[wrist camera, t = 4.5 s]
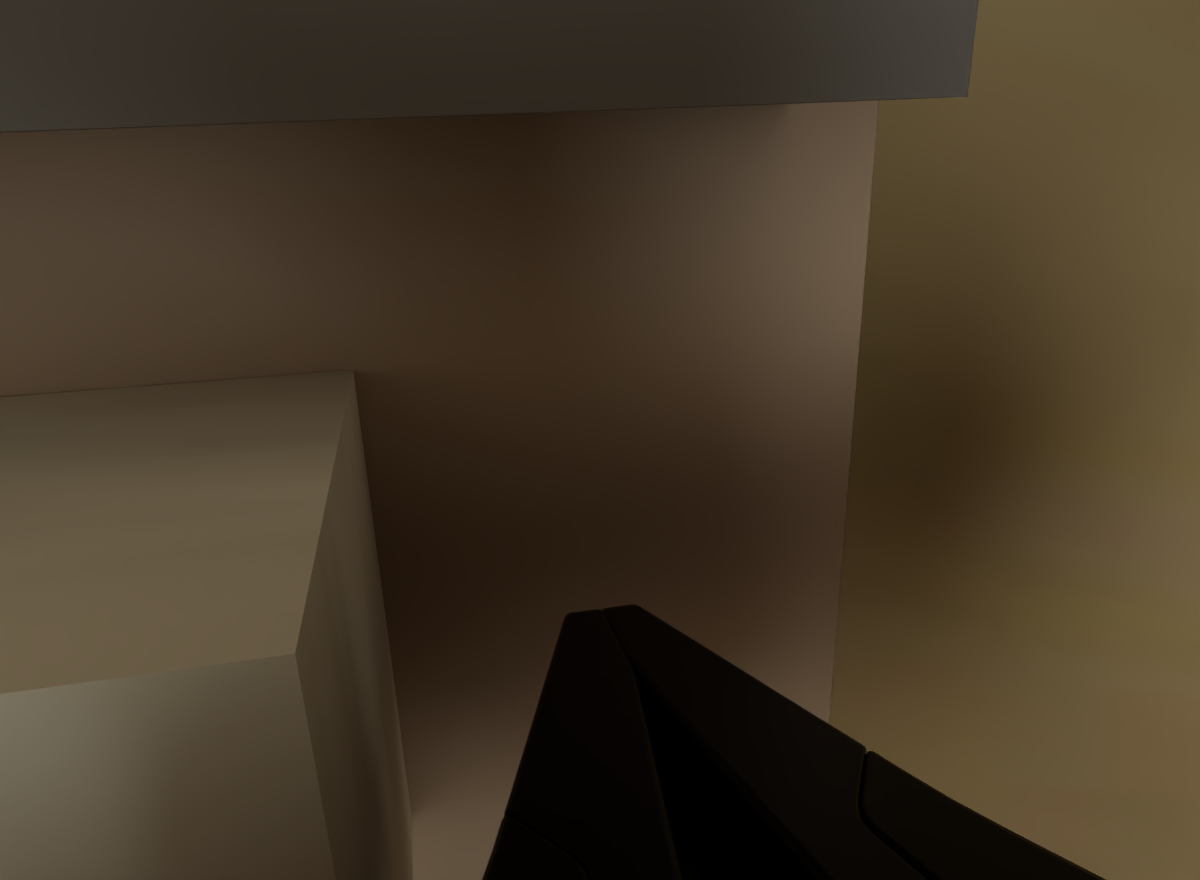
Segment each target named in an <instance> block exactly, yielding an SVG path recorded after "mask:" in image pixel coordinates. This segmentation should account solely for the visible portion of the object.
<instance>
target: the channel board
mask: <svg viewBox="0 0 1200 880" xmlns="http://www.w3.org/2000/svg"><path fill="white" fill-rule="evenodd" d="M977 9H978V0H0V397H8V396H21V395H34V394H47V393H60V392H73V391H86V390H99V389H112V388H125V387H138V386H152V385H165V384H178V383H191V382H204V381H217V380H230V379H243V378H256V377H269V376H282V375H295V374H308V373H321V372H335V371H348V370H353V372H354V380H355V388H356V395H357V403H358V410H359V418H360V426H361V433H362V441H363V449H364V456H365V464H366V471H367V479H368V487H369V494H370V502H371V509H372V517H373V525H374V532H375V540H376V547H377V555H378V563H379V570H380V578H381V586H382V593H383V601H384V608H385V616H386V624H387V631H388V639H389V646H390V654H391V662H392V669H393V677H394V685H395V692H396V700H397V707H398V715H399V723H400V730H401V738H402V745H403V753H404V761H405V768H406V776H407V784H408V791H409V799H410V806H411V814H412V855H413V880H482V878H483V875H484V872H485V869H486V867H487V864H488V861H489V858H490V855H491V853H492V850H493V847H494V843H495V840H496V837H497V834H498V830H499V827H500V824H501V821H502V819H503V818H504V813H505V809H506V806H507V803H508V799H509V796H510V793H511V790H512V786H513V783H514V780H515V777H516V773H517V770H518V767H519V764H520V760H521V757H522V754H523V751H524V747H525V744H526V741H527V738H528V734H529V731H530V728H531V725H532V721H533V718H534V715H535V711H536V708H537V705H538V702H539V698H540V695H541V692H542V689H543V685H544V682H545V679H546V676H547V672H548V669H549V666H550V663H551V659H552V656H553V653H554V650H555V646H556V643H557V640H558V637H559V633H560V630H561V627H562V624H563V620H564V618H565V616H566V615H567V614H568V613H571V612H579V611H586V610H594V609H600V610H602V609H604V608H608V607H616V606H623V605H630V604H635V605H638V606H640V607H642V608H644V609H645V610H647V611H648V612H650V613H652V614H653V615H655V616H656V617H658V618H660V619H661V620H663V621H664V622H666V623H668V624H669V625H671V626H672V627H674V628H676V629H677V630H679V631H680V632H682V633H684V634H685V635H687V636H688V637H690V638H692V639H693V640H695V641H696V642H698V643H700V644H701V645H703V646H705V647H706V648H708V649H709V650H711V651H713V652H714V653H716V654H717V655H719V656H721V657H722V658H724V659H725V660H727V661H729V662H730V663H732V664H733V665H735V666H737V667H738V668H740V669H741V670H743V671H745V672H746V673H748V674H749V675H751V676H753V677H754V678H756V679H757V680H759V681H761V682H762V683H764V684H765V685H767V686H769V687H770V688H772V689H774V690H775V691H777V692H778V693H780V694H782V695H783V696H785V697H786V698H788V699H790V700H791V701H793V702H794V703H796V704H798V705H799V706H801V707H802V708H804V709H806V710H807V711H809V712H810V713H812V714H814V715H815V716H817V717H818V718H820V719H822V720H823V721H825V722H826V723H828V724H829V720H830V707H831V695H832V682H833V669H834V657H835V644H836V632H837V619H838V607H839V594H840V582H841V569H842V556H843V544H844V531H845V519H846V506H847V494H848V481H849V469H850V456H851V443H852V431H853V418H854V406H855V393H856V381H857V368H858V356H859V343H860V330H861V318H862V305H863V293H864V280H865V268H866V255H867V243H868V230H869V217H870V205H871V192H872V180H873V167H874V155H875V142H876V130H877V117H878V104H879V100H896V99H920V98H944V97H967V96H968V87H969V78H970V70H971V61H972V52H973V43H974V35H975V26H976V17H977Z"/></svg>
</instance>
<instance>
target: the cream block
mask: <svg viewBox="0 0 1200 880" xmlns="http://www.w3.org/2000/svg"><path fill="white" fill-rule="evenodd" d="M0 880H413V855H412V814H411V806H410V799H409V791H408V784H407V776H406V768H405V761H404V753H403V745H402V738H401V730H400V723H399V715H398V707H397V700H396V692H395V685H394V677H393V669H392V662H391V654H390V646H389V639H388V631H387V624H386V616H385V608H384V601H383V593H382V586H381V578H380V570H379V563H378V555H377V547H376V540H375V532H374V525H373V517H372V509H371V502H370V494H369V487H368V479H367V471H366V464H365V456H364V449H363V441H362V433H361V426H360V418H359V410H358V403H357V395H356V388H355V380H354V372H353V370H348V371H335V372H321V373H308V374H295V375H282V376H269V377H256V378H243V379H230V380H217V381H204V382H191V383H178V384H165V385H152V386H138V387H125V388H112V389H99V390H86V391H73V392H60V393H47V394H34V395H21V396H8V397H0Z"/></svg>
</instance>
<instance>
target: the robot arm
mask: <svg viewBox="0 0 1200 880" xmlns="http://www.w3.org/2000/svg"><path fill="white" fill-rule="evenodd" d="M866 753H867V750H866V747H865V746H863V745H862V744H860V743H859V742H857V741H855V740H854V739H852V738H851V737H849V736H847V735H846V734H844V733H842V732H841V731H839V730H838V729H836V728H834V727H833V726H831V725H830V724H828V723H826V722H825V721H823V720H822V719H820V718H818V717H817V716H815V715H814V714H812V713H810V712H809V711H807V710H806V709H804V708H802V707H801V706H799V705H798V704H796V703H794V702H793V701H791V700H790V699H788V698H786V697H785V696H783V695H782V694H780V693H778V692H777V691H775V690H774V689H772V688H770V687H769V686H767V685H765V684H764V683H762V682H761V681H759V680H757V679H756V678H754V677H753V676H751V675H749V674H748V673H746V672H745V671H743V670H741V669H740V668H738V667H737V666H735V665H733V664H732V663H730V662H729V661H727V660H725V659H724V658H722V657H721V656H719V655H717V654H716V653H714V652H713V651H711V650H709V649H708V648H706V647H705V646H703V645H701V644H700V643H698V642H696V641H695V640H693V639H692V638H690V637H688V636H687V635H685V634H684V633H682V632H680V631H679V630H677V629H676V628H674V627H672V626H671V625H669V624H668V623H666V622H664V621H663V620H661V619H660V618H658V617H656V616H655V615H653V614H652V613H650V612H648V611H647V610H645V609H644V608H642V607H640V606H638V605H635V604H630V605H623V606H616V607H608V608H604V609H602V610H600V609H594V610H586V611H579V612H571V613H568V614H567V615H566V616H565V618H564V620H563V624H562V627H561V630H560V633H559V637H558V640H557V643H556V646H555V650H554V653H553V656H552V659H551V663H550V666H549V669H548V672H547V676H546V679H545V682H544V685H543V689H542V692H541V695H540V698H539V702H538V705H537V708H536V711H535V715H534V718H533V721H532V725H531V728H530V731H529V734H528V738H527V741H526V744H525V747H524V751H523V754H522V757H521V760H520V764H519V767H518V770H517V773H516V777H515V780H514V783H513V786H512V790H511V793H510V796H509V799H508V803H507V806H506V809H505V813H504V818H503V819H502V821H501V824H500V827H499V830H498V834H497V837H496V840H495V843H494V847H493V850H492V853H491V855H490V858H489V861H488V864H487V867H486V869H485V872H484V875H483V878H482V880H1106V879H1104V878H1102V877H1100V876H1098V875H1096V874H1094V873H1092V872H1090V871H1088V870H1086V869H1084V868H1082V867H1080V866H1078V865H1076V864H1074V863H1073V862H1071V861H1069V860H1067V859H1065V858H1063V857H1061V856H1059V855H1057V854H1055V853H1053V852H1051V851H1049V850H1047V849H1045V848H1043V847H1041V846H1039V845H1038V844H1036V843H1034V842H1032V841H1030V840H1028V839H1026V838H1024V837H1022V836H1020V835H1018V834H1016V833H1014V832H1012V831H1011V830H1009V829H1007V828H1005V827H1003V826H1001V825H999V824H997V823H996V822H994V821H992V820H990V819H988V818H986V817H984V816H983V815H981V814H979V813H977V812H975V811H973V810H971V809H970V808H968V807H966V806H964V805H962V804H960V803H958V802H957V801H955V800H953V799H951V798H950V797H948V796H946V795H945V794H943V793H941V792H939V791H938V790H936V789H934V788H933V787H931V786H929V785H928V784H926V783H924V782H923V781H921V780H919V779H918V778H916V777H914V776H912V775H911V774H909V773H907V772H906V771H904V770H902V769H901V768H899V767H898V766H896V765H894V764H893V763H891V762H890V761H888V760H886V759H885V758H883V757H882V756H880V755H878V754H877V753H875V752H873V751H869V752H868V753H867V754H866Z"/></svg>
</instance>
